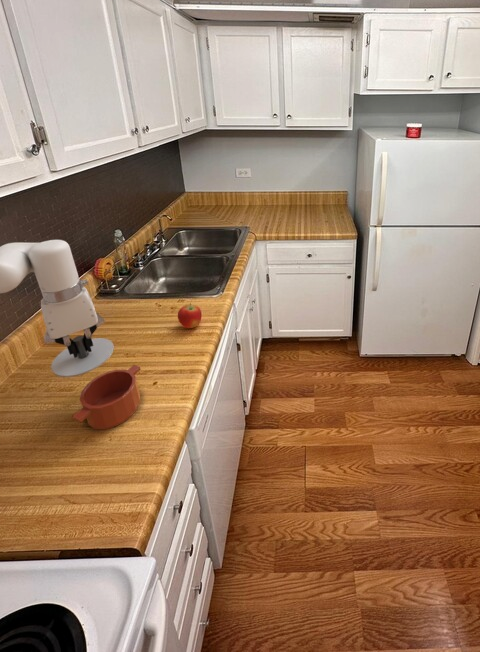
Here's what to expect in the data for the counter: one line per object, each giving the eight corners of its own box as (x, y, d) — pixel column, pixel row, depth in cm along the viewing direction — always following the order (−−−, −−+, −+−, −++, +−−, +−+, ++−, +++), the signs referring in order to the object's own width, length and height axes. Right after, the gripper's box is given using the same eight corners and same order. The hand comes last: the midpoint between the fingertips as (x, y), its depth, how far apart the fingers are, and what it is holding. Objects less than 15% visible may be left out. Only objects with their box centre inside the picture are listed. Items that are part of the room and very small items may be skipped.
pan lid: (39, 370, 83) (31, 349, 80) (90, 336, 95) (84, 317, 92) (78, 385, 79) (70, 363, 76) (126, 347, 91) (121, 328, 88)
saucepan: (65, 429, 84) (57, 407, 82) (125, 377, 100) (120, 358, 97) (101, 445, 80) (94, 424, 78) (158, 389, 96) (153, 369, 93)
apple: (184, 319, 126) (180, 297, 123) (205, 319, 127) (202, 296, 123) (176, 333, 119) (172, 310, 115) (199, 332, 119) (195, 309, 116)
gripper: (98, 274, 87) (114, 331, 93) (18, 296, 77) (42, 358, 84) (104, 285, 81) (120, 345, 88) (19, 311, 72) (44, 376, 78)
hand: (82, 351), depth 86 cm, fingers closed on pan lid, 2 cm apart
